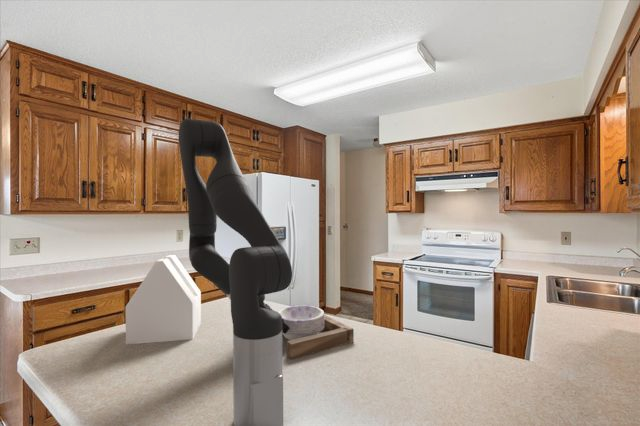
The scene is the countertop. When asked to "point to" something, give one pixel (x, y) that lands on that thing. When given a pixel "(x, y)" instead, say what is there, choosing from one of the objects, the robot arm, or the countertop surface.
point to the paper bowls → (302, 321)
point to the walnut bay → (321, 339)
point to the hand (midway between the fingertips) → (280, 326)
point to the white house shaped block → (164, 305)
